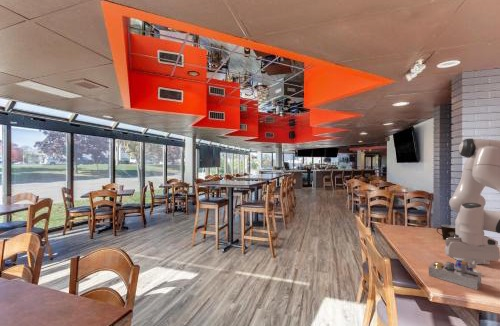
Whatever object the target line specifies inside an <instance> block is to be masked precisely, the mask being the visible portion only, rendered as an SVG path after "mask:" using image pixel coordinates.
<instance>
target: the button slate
mask: <svg viewBox="0 0 500 326" xmlns="http://www.w3.org/2000/svg"><path fill="white" fill-rule="evenodd" d="M445 264H446V269H448V270H451V271H454V266H455V263H454V262H452V261H446V262H445Z"/></svg>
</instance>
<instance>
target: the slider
mask: <svg viewBox="0 0 500 326" xmlns="http://www.w3.org/2000/svg"><path fill="white" fill-rule="evenodd" d="M466 272H467V266H466V262H465V261H462V262H461V273H466Z"/></svg>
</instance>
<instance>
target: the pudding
mask: <svg viewBox="0 0 500 326" xmlns="http://www.w3.org/2000/svg"><path fill="white" fill-rule="evenodd" d="M462 261H463V260H456V261H455V263H454V267H458V268H461V262H462ZM469 263H470V262H469ZM467 270H470V271H473V272H477V273H480V272H479V271H477V270H475V269H474V268H468V267H467Z"/></svg>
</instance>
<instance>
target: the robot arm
mask: <svg viewBox="0 0 500 326" xmlns="http://www.w3.org/2000/svg"><path fill="white" fill-rule="evenodd" d="M458 152H459V155H460V156H462V157H463V158H466V160H465V162H464V165H463V170H462V173H461V178H460V180H459V183H458V184H457V187H456V189H455V191H454V193H453V195H452V197H450V199H449V201H448V205H449V206H450V209H452V210H453V211H455V212H457V216H456V218H455V221H454V224H455V225H454V226H455V234H454V237H449V238H447V239H446V240H444V241H445V247H444V254H445V255H446V256H447V257H449V258H453V259H454V260H456V261H458V260H463V261H465V262H466V266H467V267H468V268H473V270H475V269H477V265H487V266H490V265H491V262H490V261H492V262H493V261H494V262H495V261H496V262H498V261H499V260H500V248H499V246H498V245H499V241H498V240H497V239H494V238H491V237H490V236H486V235H485V231H487V232H493V233H497V234H500V211H498V210H497V211H496V210H490V209H489V210H488V209H484V208H485V206H486V202H487V201H486V198H485V197H484V196H483V195H481V194H482V192H483V190H484V188H486V187H487V188H491V189H493V190H496V191H497V192H499V194H500V140H497V139H496V140H495V139H486V138H465V139H463V140H462V141H461V142H460V144H459V145H458ZM469 262H470V263H469Z"/></svg>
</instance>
